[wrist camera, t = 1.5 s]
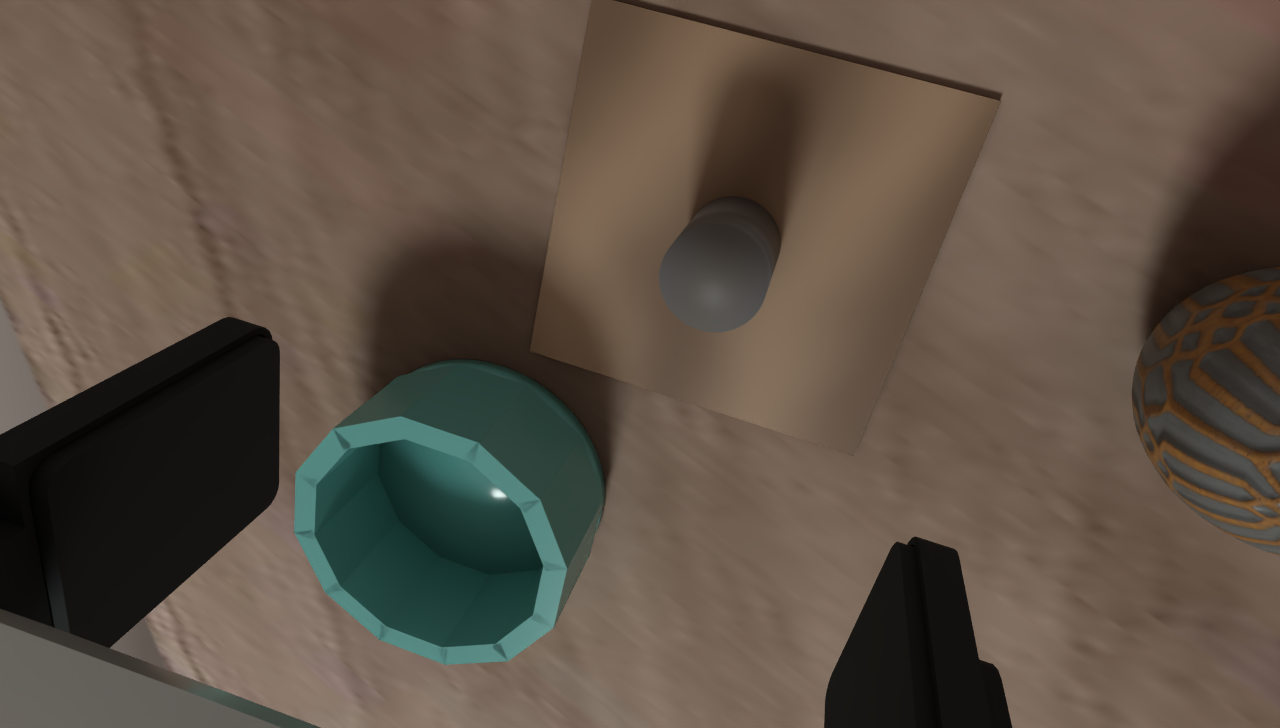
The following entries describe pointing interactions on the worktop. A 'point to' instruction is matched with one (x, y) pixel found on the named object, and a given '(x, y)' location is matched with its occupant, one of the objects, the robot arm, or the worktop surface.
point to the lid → (748, 220)
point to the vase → (1218, 404)
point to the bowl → (453, 511)
